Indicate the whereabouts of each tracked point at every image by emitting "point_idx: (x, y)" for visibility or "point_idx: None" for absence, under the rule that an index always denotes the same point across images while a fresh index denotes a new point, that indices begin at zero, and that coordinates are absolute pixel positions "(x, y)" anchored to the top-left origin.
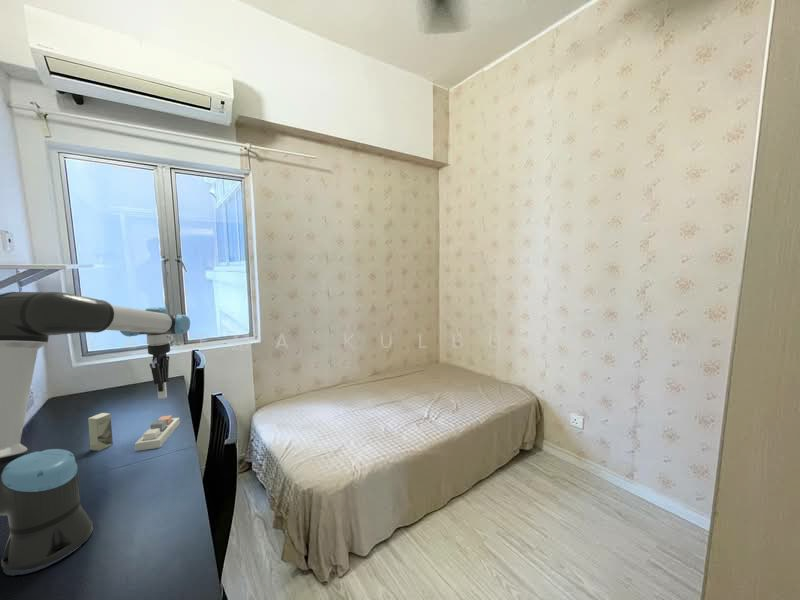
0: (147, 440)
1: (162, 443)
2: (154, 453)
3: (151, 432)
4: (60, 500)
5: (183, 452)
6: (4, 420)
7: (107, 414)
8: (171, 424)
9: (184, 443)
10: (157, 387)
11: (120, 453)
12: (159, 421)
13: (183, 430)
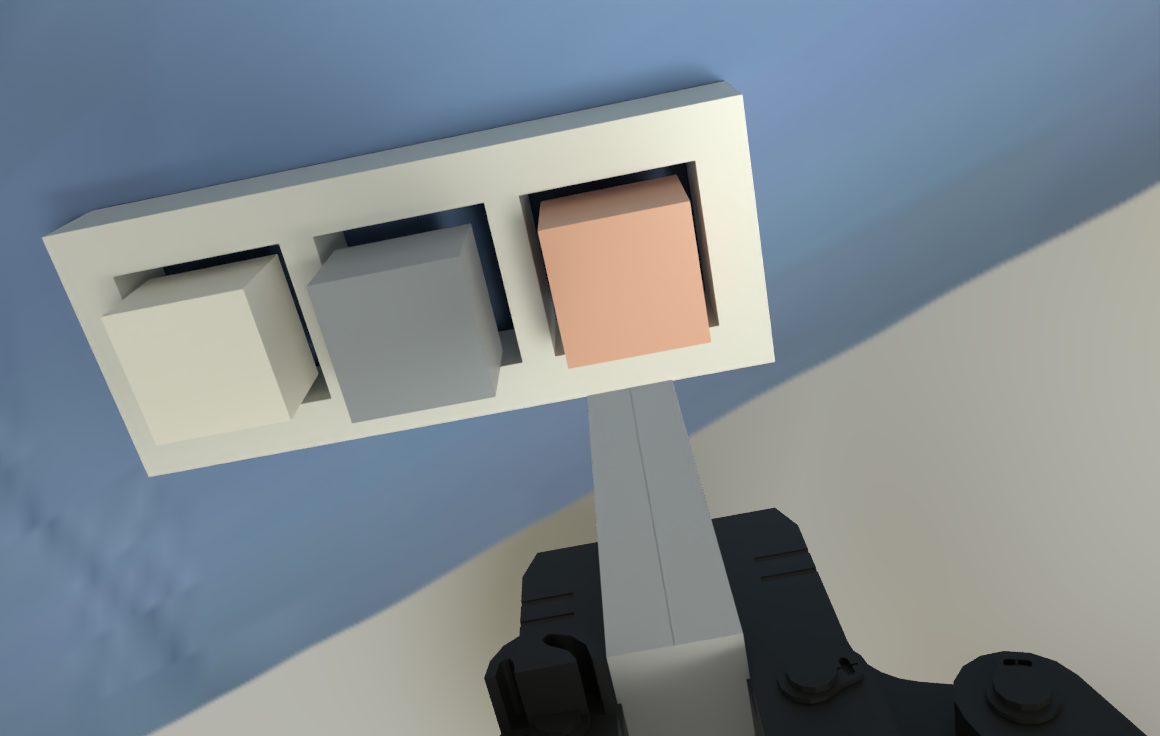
0: None
1: None
2: (72, 446)
3: (163, 390)
4: None
5: (121, 682)
6: None
7: None
8: (557, 380)
9: (278, 613)
10: (602, 571)
11: (19, 57)
12: (425, 346)
13: (566, 460)
